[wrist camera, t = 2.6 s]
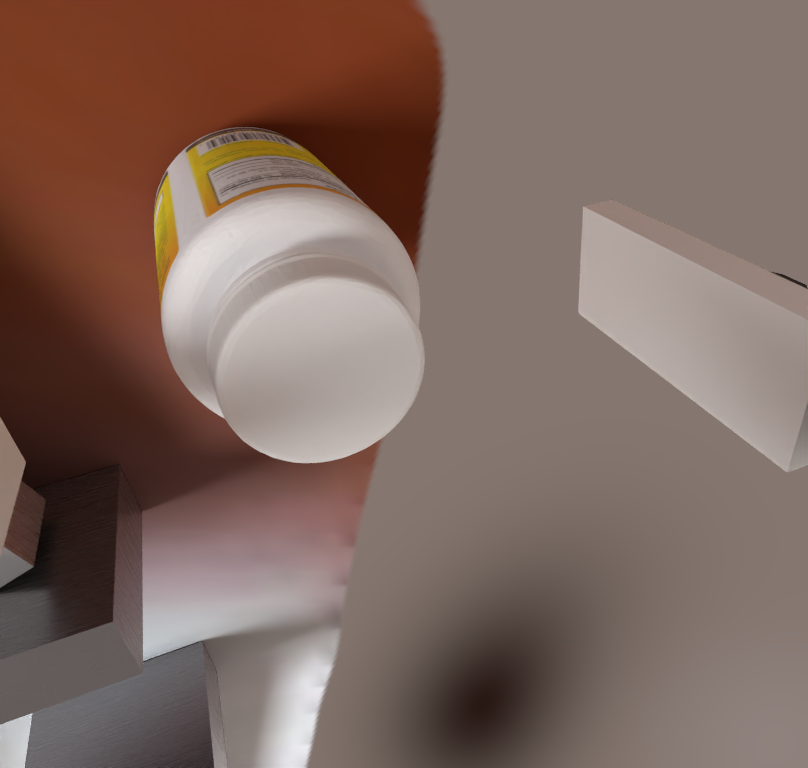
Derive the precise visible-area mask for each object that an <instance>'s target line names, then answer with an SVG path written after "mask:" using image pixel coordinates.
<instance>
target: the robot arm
mask: <svg viewBox="0 0 808 768" xmlns="http://www.w3.org/2000/svg"><path fill="white" fill-rule="evenodd" d="M581 240H582V241H581V262H580V263H581V264H580V286H579V309H578V313H579V314H580V315H582V316H583V317H584V318H585V319H587V320H588V321H589V322H591V323H592V324H593V325H595V326H596V327H597V328H599V329H600V330H601V331H603V332H604V333H605V334H606V335H608V336H609V337H610V338H612V339H613V340H614V341H616V342H617V343H618V344H620V345H621V346H622V347H623V348H625V349H626V350H627V351H629V352H630V353H631V354H633V355H634V356H635V357H637V358H638V359H639V360H640V361H642V362H643V363H644V364H646V365H647V366H648V367H650V368H651V369H652V370H654V371H655V372H656V373H657V374H659V375H660V376H662V377H663V378H664V379H665V380H667V381H668V382H670V383H671V384H672V385H673V386H675V387H676V388H677V389H679V390H680V391H681V392H682V393H684V394H685V395H686V396H688V397H689V398H690V399H692V400H693V401H694V402H696V403H697V404H698V405H699V406H701V407H702V408H703V409H705V410H706V411H707V412H709V413H710V414H711V415H713V416H714V417H715V418H716V419H718V420H719V421H720V422H722V423H723V424H724V425H726V426H727V427H728V428H730V429H731V430H732V431H734V432H735V433H736V434H737V435H739V436H740V437H741V438H743V439H744V440H745V441H747V442H748V443H749V444H751V445H752V446H753V447H755V448H756V449H757V450H759V451H760V452H761V453H763V454H764V455H765V456H766V457H768V458H769V459H770V460H772V461H773V462H774V463H775V464H777V465H778V466H779V467H781V468H782V469H783V470H785V471H786V472H790V471H793V470H796V469H799V468H801V467H804V466H807V465H808V288H807V286H806V285H805V284H803V283H801V282H798V281H796V280H793V279H791V278H789V277H787V276H785V275H783V274H778V273H774V272H770V271H767V270H764V269H763V268H761V267H758V266H756V265H754V264H752V263H750V262H747V261H745V260H743V259H741V258H739V257H736V256H734V255H732V254H730V253H728V252H726V251H724V250H721V249H719V248H717V247H715V246H712V245H710V244H708V243H706V242H704V241H702V240H699V239H697V238H695V237H693V236H691V235H689V234H686V233H684V232H682V231H680V230H678V229H676V228H673V227H671V226H669V225H667V224H665V223H662V222H660V221H658V220H656V219H654V218H652V217H649V216H647V215H645V214H643V213H641V212H639V211H636V210H634V209H632V208H630V207H627V206H625V205H623V204H621V203H619V202H617V201H615V200H608V201H604V202H599V203H595V204H591V205H586V206H583V216H582V239H581ZM25 464H26V461H25V460H24V458H23V456H22V454H21V453H20V451H19V449H18V447H17V446H16V444H15V442H14V440H13V439H12V437H11V435H10V433H9V432H8V430H7V428H6V426H5V425H4V423H3V421H2V419H1V417H0V557H1V553H2V550H3V546H4V542H5V539H6V535H7V531H8V527H9V524H10V520H11V516H12V513H13V509H14V505H15V501H16V498H17V494H18V490H19V487H20V483H21V479H22V475H23V472H24V468H25Z"/></svg>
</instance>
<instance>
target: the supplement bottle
mask: <svg viewBox="0 0 808 768" xmlns="http://www.w3.org/2000/svg"><path fill="white" fill-rule="evenodd" d="M154 234H155V245H156V258H157V272H158V283H159V297H160V309H161V322H162V329H163V336H164V341H165V345H166V349H167V352H168V355H169V358H170V360H171V363H172V365H173V367H174V369H175V371H176V373H177V374H178V376H179V377H180V379H181V380H182V382H183V383H184V385H185V386H186V387H187V388H188V390H189V391H190V392H191V393H192V394H193V395H194V396H195V397H196V398H197V399H198V400H199V401H200V402H201V403H202V404H204V405H205V406H206V407H207V408H209V409H210V410H211V411H213V412H215V413H216V414H218V415H219V416H221V417H223V418H225V419H226V421H227V423H228V424H229V426H230V427H231V428H232V429H233V430H234V432H235V433H236V434H237V435H238V436H239V437H240V438H241V439H242V440H243V441H244V442H246V443H247V444H248V445H249V446H251V447H253V448H254V449H256V450H257V451H260V452H262V453H264V454H266V455H268V456H270V457H273V458H276V459H280V460H284V461H289V462H296V463H319V462H327V461H332V460H336V459H340V458H344V457H347V456H349V455H352V454H354V453H357V452H359V451H361V450H363V449H365V448H367V447H369V446H371V445H372V444H374V443H375V442H377V441H378V440H380V439H381V438H383V437H384V436H385V435H386V434H387V433H388V432H389V431H391V430H392V429H393V428H394V427H395V426H396V425H397V424H398V423H399V422H400V421H401V419H402V418H403V417H404V415H405V414H406V413H407V411H408V410H409V408H410V407H411V405H412V403H413V402H414V400H415V398H416V396H417V393H418V390H419V388H420V385H421V382H422V378H423V372H424V361H425V354H424V345H423V340H422V336H421V332H420V330H419V328H418V325H419V320H420V293H419V285H418V280H417V276H416V273H415V270H414V267H413V264H412V262H411V260H410V257H409V255H408V253H407V251H406V249H405V248H404V246H403V245H402V243H401V241H400V240H399V239H398V237H397V236H396V235H395V234H394V232H393V231H392V230H391V229H390V227H389V226H388V225H387V224H386V223H385V222H384V221H383V220H382V219H381V218H380V217H379V216H378V215H377V214H376V213H375V212H374V211H372V210H371V209H370V208H369V207H368V206H367V205H366V204H365V203H364V202H363V201H362V200H361V199H359V198H358V197H357V196H356V195H355V194H354V193H353V192H352V191H351V190H350V189H349V188H348V187H347V186H346V185H345V184H344V183H343V182H342V181H341V180H340V179H338V178H337V177H336V176H335V175H334V174H333V173H332V172H331V171H330V170H329V169H328V168H327V167H326V166H325V165H323V164H322V163H321V162H320V161H319V160H318V159H317V158H316V157H315V156H314V155H313V154H312V153H311V152H309V151H308V150H307V149H306V148H304V147H303V146H301V145H300V144H298V143H297V142H295V141H294V140H292V139H290V138H288V137H286V136H284V135H282V134H279V133H276V132H273V131H270V130H266V129H261V128H254V127H236V128H228V129H223V130H219V131H216V132H213V133H211V134H208V135H206V136H204V137H202V138H200V139H198V140H196V141H195V142H193V143H192V144H190V145H189V146H188V147H186V148H185V149H184V150H183V151H182V152H181V153H180V154H179V155H178V156H177V157H176V158H175V159H174V160H173V162H172V163H171V164H170V166H169V167H168V169H167V170H166V172H165V174H164V176H163V178H162V180H161V182H160V185H159V188H158V191H157V195H156V199H155V206H154Z"/></svg>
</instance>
